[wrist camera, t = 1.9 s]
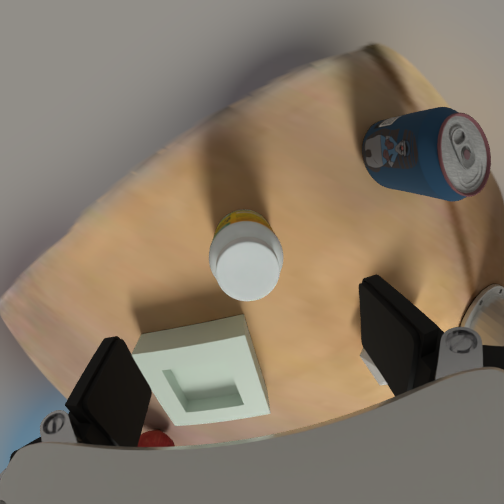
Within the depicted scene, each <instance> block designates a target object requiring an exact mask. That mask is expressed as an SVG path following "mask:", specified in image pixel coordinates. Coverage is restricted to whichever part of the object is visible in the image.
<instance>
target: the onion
mask: <svg viewBox="0 0 504 504" xmlns="http://www.w3.org/2000/svg"><path fill="white" fill-rule="evenodd" d="M174 446H175V445H174V443H173V441H172V440H171V439H170V438H169V437H168V436H167V435H166V434H165V433H163V432H162V431H160V430H154V431H148V432H145V433H143V434H141V435H140V439H139V443H138V447H174Z"/></svg>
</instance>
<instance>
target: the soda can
mask: <svg viewBox="0 0 504 504" xmlns="http://www.w3.org/2000/svg"><path fill="white" fill-rule="evenodd" d="M362 154H363V160H364V164H365V166H366V168H367V170H368V172H369V174H370V175H371V177H372V178H373V179H374V180H375V181H376V182H377V183H379V184H380V185H382V186H384V187H386V188H390V189H395V190H401V191H406V192H411V193H416V194H420V195H425V196H430V197H434V198H438V199H443V200H447V201H459V200H461V199H463V198H465V197H470V196H474V195H476V194H478V193H479V192H480V191H481V190H482V189H483V188H484V186H485V184H486V182H487V180H488V177H489V173H490V166H491V156H490V148H489V144H488V141H487V138H486V136H485V134H484V132H483V130H482V128H481V127H480V125H479V124H478V123H477V122H476V121H475V120H474V119H473V118H472V117H471V116H469V115H467V114H464V113H458V112H457V111H455V110H453V109H451V108H447V107H438V108H433V109H428V110H424V111H419V112H415V113H410V114H406V115H402V116H398V117H393V118H389V119H386V120H382V121H379V122H377V123H375V124H374V125H373V126H371V128H370V129H369V130H368V131H367V133H366V135H365V138H364V141H363V147H362Z"/></svg>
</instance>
